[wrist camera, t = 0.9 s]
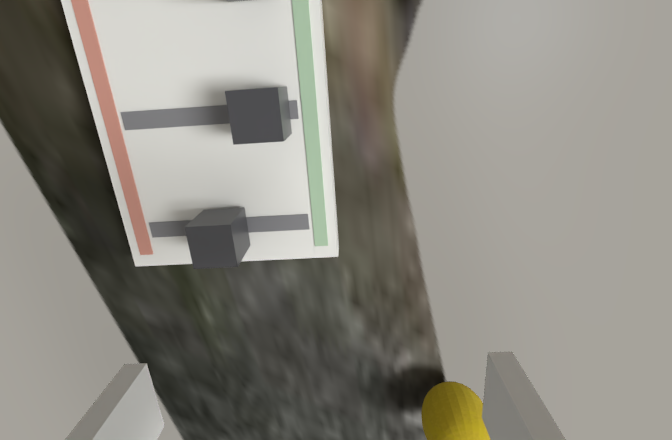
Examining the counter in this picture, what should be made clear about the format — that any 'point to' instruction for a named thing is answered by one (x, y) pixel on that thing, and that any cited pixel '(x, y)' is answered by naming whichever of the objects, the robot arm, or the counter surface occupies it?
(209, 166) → the breaker panel
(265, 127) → the block
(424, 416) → the lemon
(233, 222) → the switch
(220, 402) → the counter surface
